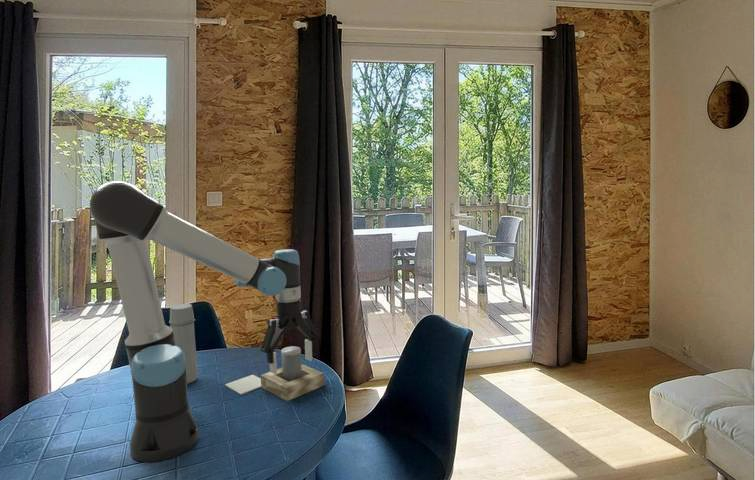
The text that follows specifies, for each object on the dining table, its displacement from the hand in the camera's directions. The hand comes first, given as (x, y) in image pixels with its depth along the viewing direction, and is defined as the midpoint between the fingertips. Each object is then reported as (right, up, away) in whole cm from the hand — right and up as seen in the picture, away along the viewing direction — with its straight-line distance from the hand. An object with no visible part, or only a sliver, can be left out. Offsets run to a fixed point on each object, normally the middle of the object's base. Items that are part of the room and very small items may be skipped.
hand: (291, 366), depth 139 cm
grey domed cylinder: (0, -7, +1) cm, 7 cm away
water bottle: (-36, -7, +8) cm, 38 cm away
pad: (-15, -7, +3) cm, 16 cm away
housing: (0, -7, +1) cm, 7 cm away
